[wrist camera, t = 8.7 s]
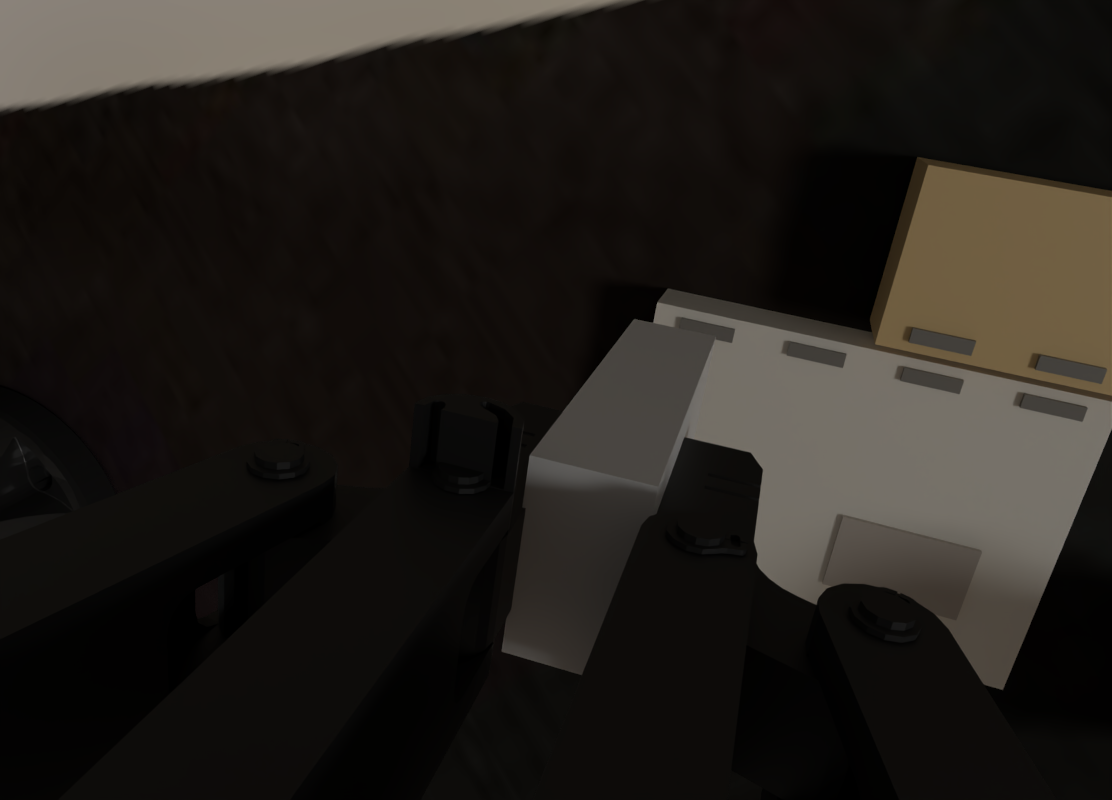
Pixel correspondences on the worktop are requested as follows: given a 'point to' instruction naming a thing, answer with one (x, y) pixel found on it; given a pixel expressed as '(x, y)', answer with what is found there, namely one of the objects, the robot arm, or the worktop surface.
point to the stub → (1001, 275)
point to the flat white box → (898, 467)
